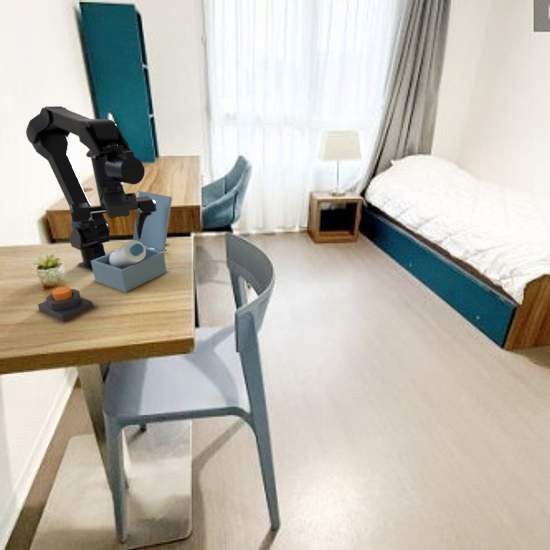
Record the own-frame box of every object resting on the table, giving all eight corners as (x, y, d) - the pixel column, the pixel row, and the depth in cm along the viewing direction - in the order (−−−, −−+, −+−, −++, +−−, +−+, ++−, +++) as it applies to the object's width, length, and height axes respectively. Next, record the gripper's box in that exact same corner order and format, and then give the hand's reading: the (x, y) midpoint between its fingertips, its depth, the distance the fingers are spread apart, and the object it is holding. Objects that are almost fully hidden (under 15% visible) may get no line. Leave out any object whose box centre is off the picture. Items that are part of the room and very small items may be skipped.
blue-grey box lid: (170, 196, 95) (172, 197, 96) (138, 190, 100) (141, 191, 101) (162, 250, 97) (164, 250, 98) (132, 242, 102) (134, 242, 103)
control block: (39, 311, 81) (35, 297, 80) (69, 297, 87) (65, 284, 85) (64, 322, 77) (60, 308, 76) (93, 307, 83) (90, 294, 81)
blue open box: (125, 292, 90) (121, 271, 87) (95, 281, 95) (90, 260, 92) (166, 272, 100) (163, 252, 98) (136, 263, 105) (133, 244, 103)
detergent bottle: (104, 255, 95) (122, 242, 86) (123, 247, 99) (142, 234, 89) (115, 274, 96) (134, 263, 86) (133, 265, 99) (153, 254, 90)
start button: (50, 298, 80) (48, 291, 79) (66, 291, 83) (64, 285, 82) (60, 302, 79) (58, 295, 78) (75, 295, 81) (74, 288, 81)
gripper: (65, 189, 74) (82, 260, 81) (158, 181, 83) (166, 245, 90) (62, 179, 83) (78, 244, 90) (146, 173, 92) (155, 232, 98)
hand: (120, 241), depth 92 cm, fingers open, 9 cm apart
